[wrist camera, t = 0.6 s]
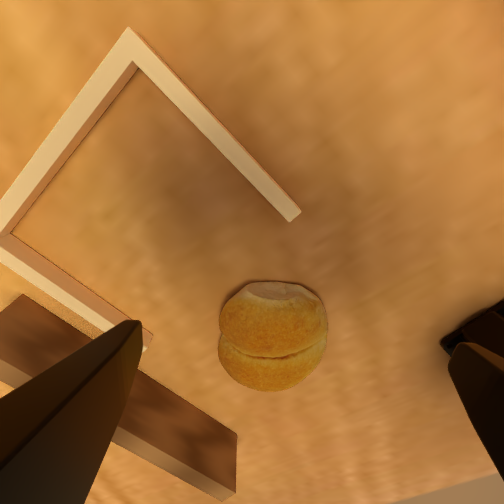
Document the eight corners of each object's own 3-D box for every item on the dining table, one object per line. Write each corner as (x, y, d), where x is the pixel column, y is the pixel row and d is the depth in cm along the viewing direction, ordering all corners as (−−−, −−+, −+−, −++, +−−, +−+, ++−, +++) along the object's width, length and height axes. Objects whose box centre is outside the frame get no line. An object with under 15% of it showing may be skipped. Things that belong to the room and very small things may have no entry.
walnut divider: (236, 434, 30) (235, 493, 25) (225, 442, 30) (221, 501, 25) (22, 293, 23) (-34, 340, 18) (11, 307, 23) (-46, 355, 18)
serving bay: (297, 205, 20) (301, 212, 19) (145, 341, 25) (139, 355, 23) (137, 33, 16) (128, 26, 15) (-13, 233, 21) (-30, 241, 19)
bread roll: (218, 368, 26) (214, 409, 23) (221, 276, 23) (217, 307, 19) (314, 371, 27) (325, 412, 23) (332, 281, 23) (348, 312, 20)
